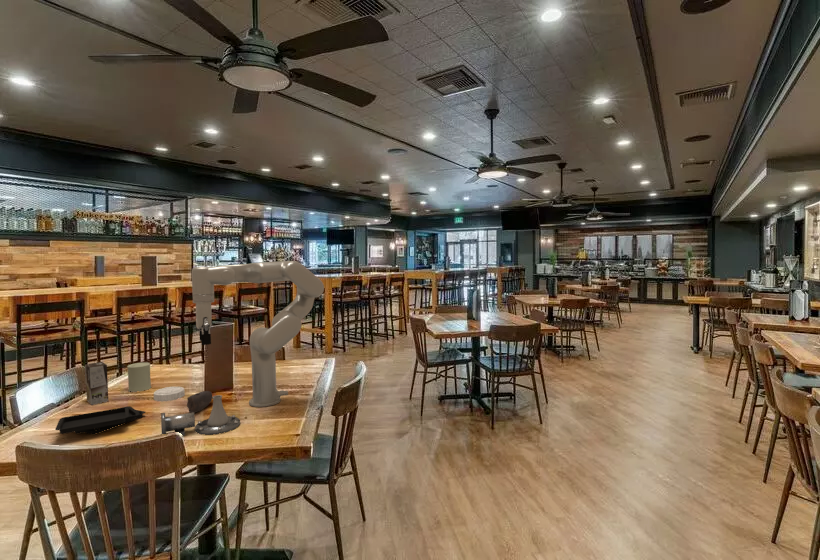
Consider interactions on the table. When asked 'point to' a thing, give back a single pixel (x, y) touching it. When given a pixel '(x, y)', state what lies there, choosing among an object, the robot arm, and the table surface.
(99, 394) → the coffee box
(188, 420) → the pipe fitting
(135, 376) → the can
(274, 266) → the robot arm
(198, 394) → the perforated stone tool
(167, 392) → the mooncake
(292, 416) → the table surface
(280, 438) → the table surface
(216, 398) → the flask
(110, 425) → the tray
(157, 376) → the table surface
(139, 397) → the table surface
